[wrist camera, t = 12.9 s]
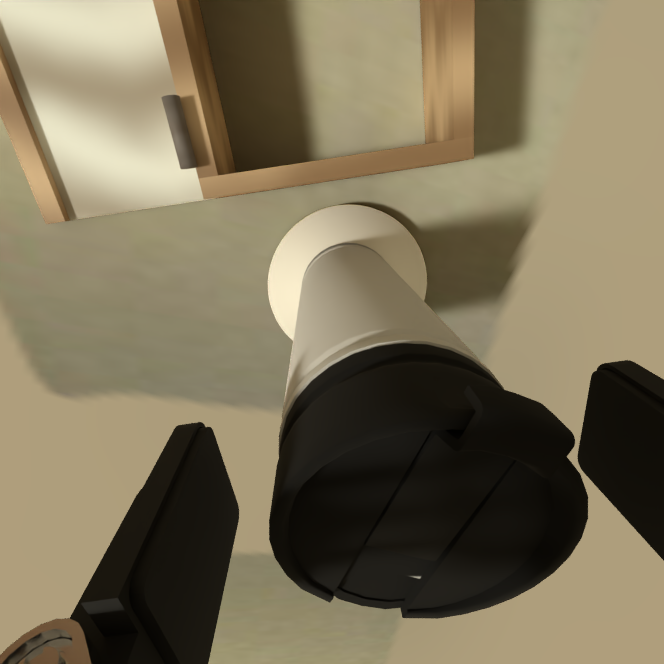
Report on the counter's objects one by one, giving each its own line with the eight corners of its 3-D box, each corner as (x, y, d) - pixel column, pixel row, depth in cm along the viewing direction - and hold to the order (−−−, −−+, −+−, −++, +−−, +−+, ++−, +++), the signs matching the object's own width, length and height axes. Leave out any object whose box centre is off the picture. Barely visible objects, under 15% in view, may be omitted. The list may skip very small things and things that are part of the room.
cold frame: (-59, -65, 18) (-214, -169, 13) (434, -144, 18) (485, -284, 13) (57, 222, 24) (-19, 232, 18) (442, 164, 23) (480, 157, 18)
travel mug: (409, 256, 25) (699, 471, 6) (370, 341, 27) (495, 692, 8) (322, 222, 24) (346, 351, 5) (289, 313, 26) (219, 642, 7)
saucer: (253, 217, 24) (251, 218, 23) (419, 192, 24) (423, 192, 23) (285, 365, 28) (284, 370, 27) (427, 344, 28) (430, 349, 27)
